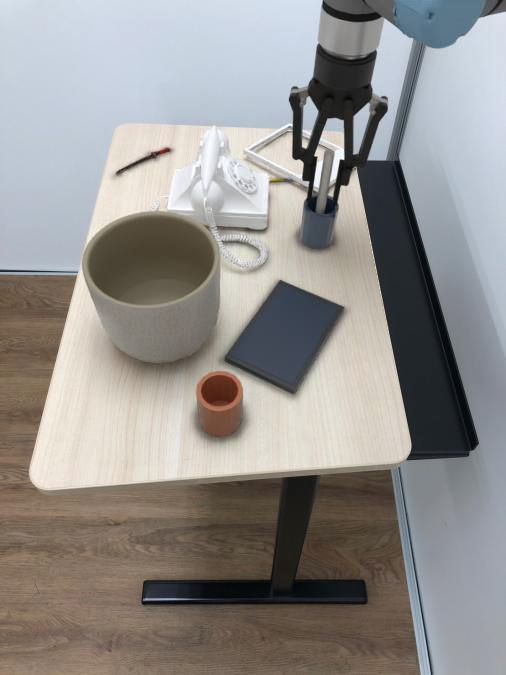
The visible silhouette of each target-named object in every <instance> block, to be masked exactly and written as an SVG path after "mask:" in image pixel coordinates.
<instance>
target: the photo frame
mask: <svg viewBox="0 0 506 675" xmlns="http://www.w3.org/2000/svg"><path fill="white" fill-rule="evenodd" d="M289 131H291V132H293V123H291V122H288V123H287V124H285V125H284V126H282V127H279V128H278V129H277V130H275V131H273V132H271V133H270V134H268V135H265V136H264V137H263V138H261V139H259V140H257V141H256V142H254V143H252V144H250V145H248V146H247V147H245V148H243V150H242V151H243V152H242V155H245V156H246V157H248V158H250V159H252V160H254V161H256V162H258V163H260V164H262V165H264V166H266V167H268V168H269V169H272V170H273V171H275V172H277V173H279V174H282V175H283V176H285V177H287V178H288V179H293V180H292V181H294V182H296V183H299V184H301V185H303V186H304V187H306V188H308V186H309V182H307V181H303V180H302V173H300V174H297V173H296V172H293V171H291V170H289V169H287V168H286V167H285V166H284V167H283V166H282V165H280V164H278V163H276V162H274V161H272V160H270V159H268V158H266V157H264V156H262V155H260V154H259V153H257V152H254V151H256V150H258V149H259V148H261V147H262V146H264V145H267V143H270V142H271V141H273V140H274V139H276V138H278V137H280V136H281V135H283V134H285V133H286V132H289ZM311 133H312V132H309V131H307V130H305V129H303V134H302V137H303V138H306V139H308V140H309V139H310V136H311ZM318 145H321V146H323V147H325V148H327V149H328V150H333V151H334V152H335V155H334V161H333V166H332V172H331V178H330V184H329V188H330V187H331V186H333V185H335V183H336V177H337V172H338V166H339V161H340V159H343V160H344V147H341V146H339V145H337V144H335V143H332V142H330V141H328V140H326V139H324V138H322V137H321V138H320V141H319V144H318ZM353 154H355V153H354V152H353ZM322 165H323V159H321V160H320V161H317V165H316V172H315V179H314V186H313V192H315V193H318V191H319V185H320V178H321V172H322ZM356 168H357V167H354V168H353V169H352V171H353V170H354V169H356Z"/></svg>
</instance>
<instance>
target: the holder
mask: <svg viewBox="0 0 506 675" xmlns="http://www.w3.org/2000/svg"><path fill="white" fill-rule="evenodd" d="M317 197H318V193H314V194H313V193H312V200H311V203H310V202H306V201H307V197H306V198H305V199H304V201H303V205H302V214H301V220H300V221H301V222H300V229H299V240H300V242H301V243H302V244H303V245H304V246H306V247H307V248H310V249H314V250H320V249H321V250H322V249H325V248H327V247H329V246H330V245H331V244H332V242H333V239H334V236H335V235H334V234H335V230H336V224H337V220H338V214H339V210H340V204H339V202H338V203H337V206H334V205H332V202H333V196H331V195H329V194H328V195H327V201H326V207H325V213H324V214H317V213H315V210H316V204H317Z"/></svg>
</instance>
